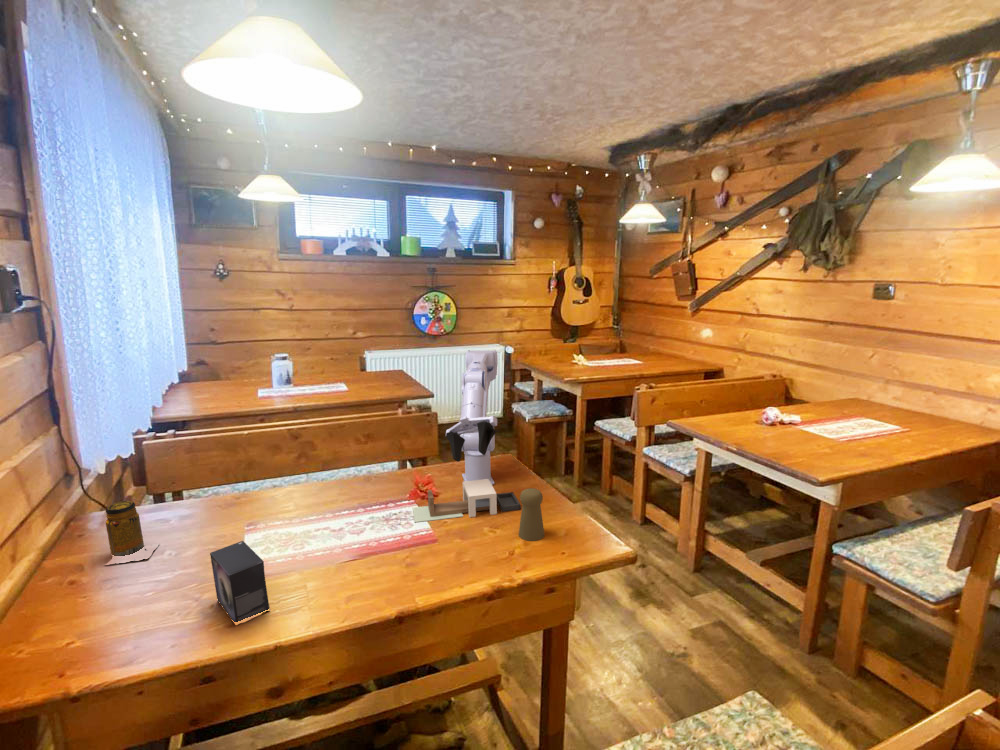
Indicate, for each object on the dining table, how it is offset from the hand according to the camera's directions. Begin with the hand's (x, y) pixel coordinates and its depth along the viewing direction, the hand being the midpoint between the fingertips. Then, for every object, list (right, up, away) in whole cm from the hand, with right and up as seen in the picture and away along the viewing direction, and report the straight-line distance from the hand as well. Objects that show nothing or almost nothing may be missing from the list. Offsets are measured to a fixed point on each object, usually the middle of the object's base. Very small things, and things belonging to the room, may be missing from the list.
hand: (469, 456), depth 132 cm
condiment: (-74, -20, -13) cm, 78 cm away
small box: (-41, -24, -32) cm, 57 cm away
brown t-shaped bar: (-2, -14, +6) cm, 16 cm away
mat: (-8, -15, +5) cm, 18 cm away
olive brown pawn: (+15, -17, -7) cm, 24 cm away
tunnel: (+2, -14, +7) cm, 16 cm away
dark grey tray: (+10, -14, +9) cm, 19 cm away
